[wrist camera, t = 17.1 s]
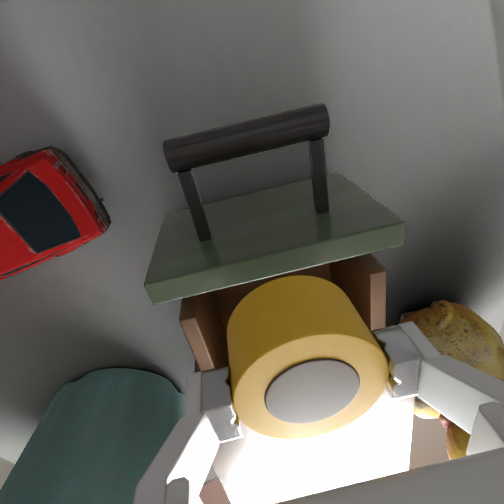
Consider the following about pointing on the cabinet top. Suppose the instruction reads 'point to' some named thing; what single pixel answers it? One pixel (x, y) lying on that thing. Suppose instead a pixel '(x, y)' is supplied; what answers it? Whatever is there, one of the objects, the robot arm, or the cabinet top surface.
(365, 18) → the cabinet top surface
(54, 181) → the toy car
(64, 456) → the flower pot
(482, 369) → the decorative figurine
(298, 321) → the tape
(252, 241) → the drawer
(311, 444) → the cabinet
